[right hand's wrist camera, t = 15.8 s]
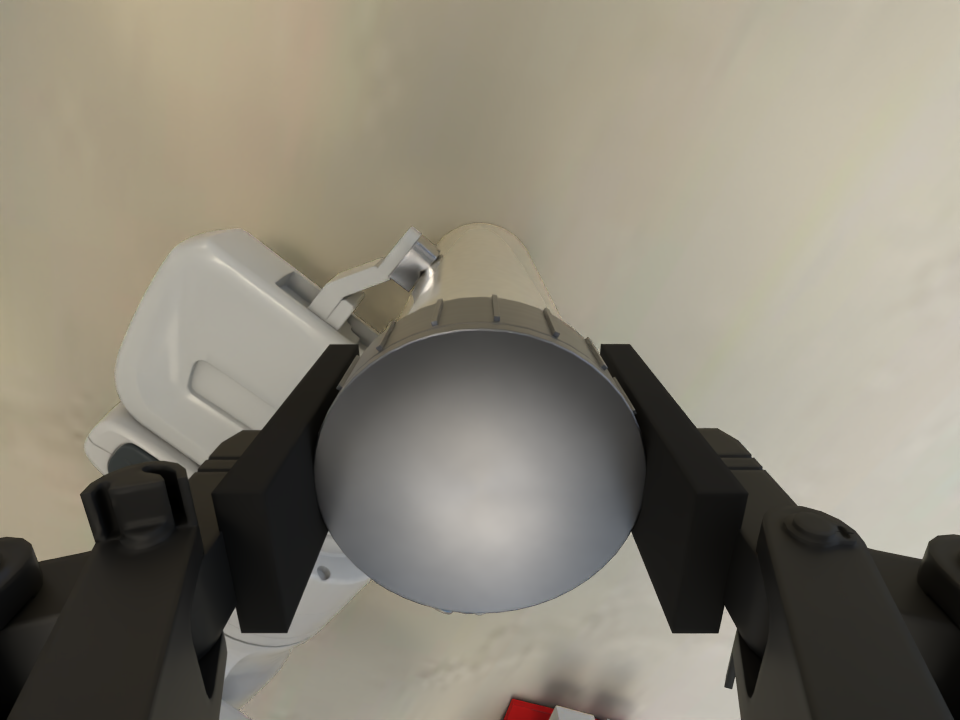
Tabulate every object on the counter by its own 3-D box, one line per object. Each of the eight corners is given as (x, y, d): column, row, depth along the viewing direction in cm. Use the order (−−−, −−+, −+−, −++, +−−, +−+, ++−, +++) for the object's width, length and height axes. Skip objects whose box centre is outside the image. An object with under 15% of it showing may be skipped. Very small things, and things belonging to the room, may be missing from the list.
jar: (543, 316, 28) (637, 555, 11) (441, 339, 29) (386, 601, 12) (521, 210, 26) (597, 309, 9) (412, 237, 27) (299, 376, 10)
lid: (679, 431, 12) (720, 487, 10) (477, 586, 14) (477, 662, 12) (483, 227, 11) (483, 244, 8) (280, 431, 12) (240, 488, 10)
